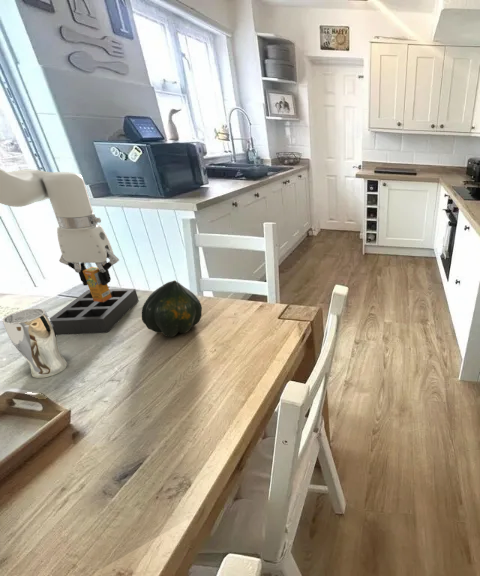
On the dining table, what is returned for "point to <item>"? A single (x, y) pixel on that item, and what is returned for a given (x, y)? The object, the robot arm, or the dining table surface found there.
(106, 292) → the supplement box
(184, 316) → the squash
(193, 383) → the dining table surface
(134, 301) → the holder
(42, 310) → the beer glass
